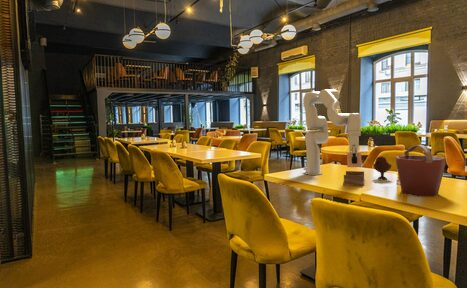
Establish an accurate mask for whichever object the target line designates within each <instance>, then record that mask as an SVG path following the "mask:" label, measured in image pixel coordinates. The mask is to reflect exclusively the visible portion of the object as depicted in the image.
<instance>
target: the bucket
mask: <svg viewBox="0 0 467 288" xmlns="http://www.w3.org/2000/svg"><path fill="white" fill-rule="evenodd" d="M417 148H420V149H421V150H422V152H424V153H423V154H424V155H415V154H414V155H413V154H412V155H411V154H410V153H411V152H413V151H415V150H416V149H417ZM403 154H404V155H400V156H399V155H396V156H395V164H396V170H397V175H398V180H399V185H400V190H401V193H402V194H403V195H408V196H413V197H435V196H436V195H439V192H440V187H441V184H442V183H441V182H442V180H443V175H444V172H445V167H446V160H447V159H446V157H441V156H436V155H435V156H434V155H433V154H432V151H431V150H430V149H429V148H428V146H426V145H424V144H415V145H411V146H410V147H408V149H406V150H405V151H404V152H403Z"/></svg>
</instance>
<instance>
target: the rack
mask: <svg viewBox="0 0 467 288" xmlns="http://www.w3.org/2000/svg"><path fill="white" fill-rule="evenodd" d="M365 184H366V179H365V171H363V170H362V171H360V170H359V171H356V170H346V171H345V174H343V183H342V185H343V186H359V187H365Z"/></svg>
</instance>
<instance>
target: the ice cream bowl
mask: <svg viewBox="0 0 467 288" xmlns="http://www.w3.org/2000/svg"><path fill="white" fill-rule="evenodd" d="M372 166H373V168H374V170H375V171H377V172H378V173H380V176H378V177H377V180H387V179H388V178H387V177H386V176H385V173H387V172H388V171H389V170H391V168H392V163H391V164H390V163H389V162H388V160H387V158H386V157H385V156H382V155H379V156H377V157H376V158H375V162H374V163H373V165H372Z"/></svg>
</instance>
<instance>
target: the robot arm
mask: <svg viewBox="0 0 467 288" xmlns="http://www.w3.org/2000/svg"><path fill="white" fill-rule="evenodd" d="M339 99H340V93H339V91H338V90H336V89H334V88H332V89H328V88H325V89H321V90H320V91H308V92H306V93H305V94H304V95H303V99H302V101H303V109H304V111H305V125H306V128H307V129H308V130H309V129H310V131H307V132H306V133H305V135H304V141H305V146H306V147H305V148H306V167H304V168H303V171H305V172H304V174H305V175H307V174H308V175H309V176H320V175H323V172H322V171H321V150H320V147H319V145H320V144H325V143H327V142H328V140H329V125H328V120H329V121H330V122H331V123H332V124H333V125H334V126H337V127H340V126H342V127H343V126H344V127H345V126H347V137H348V138H349V139H348V141H349V143H348V149H349V152H352V164H357V152H359V143H360V141H359V140H360V139H359V138H360V137H361V133H362V131H361V127H362V125H361V123H362V121H361V114H360V113H359V112H356V113H355V112H352V113H338V112H337V111H336V110H337V109H339V107H340V101H339ZM315 104H316V105H317V104H319V105H320V104H323V106H325V108H326V109H327V110H326V113H327V118H328V120H327V118H326V117H325V116H323V115H318V109H317V108H316V105H315ZM318 144H319V145H318Z"/></svg>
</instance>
